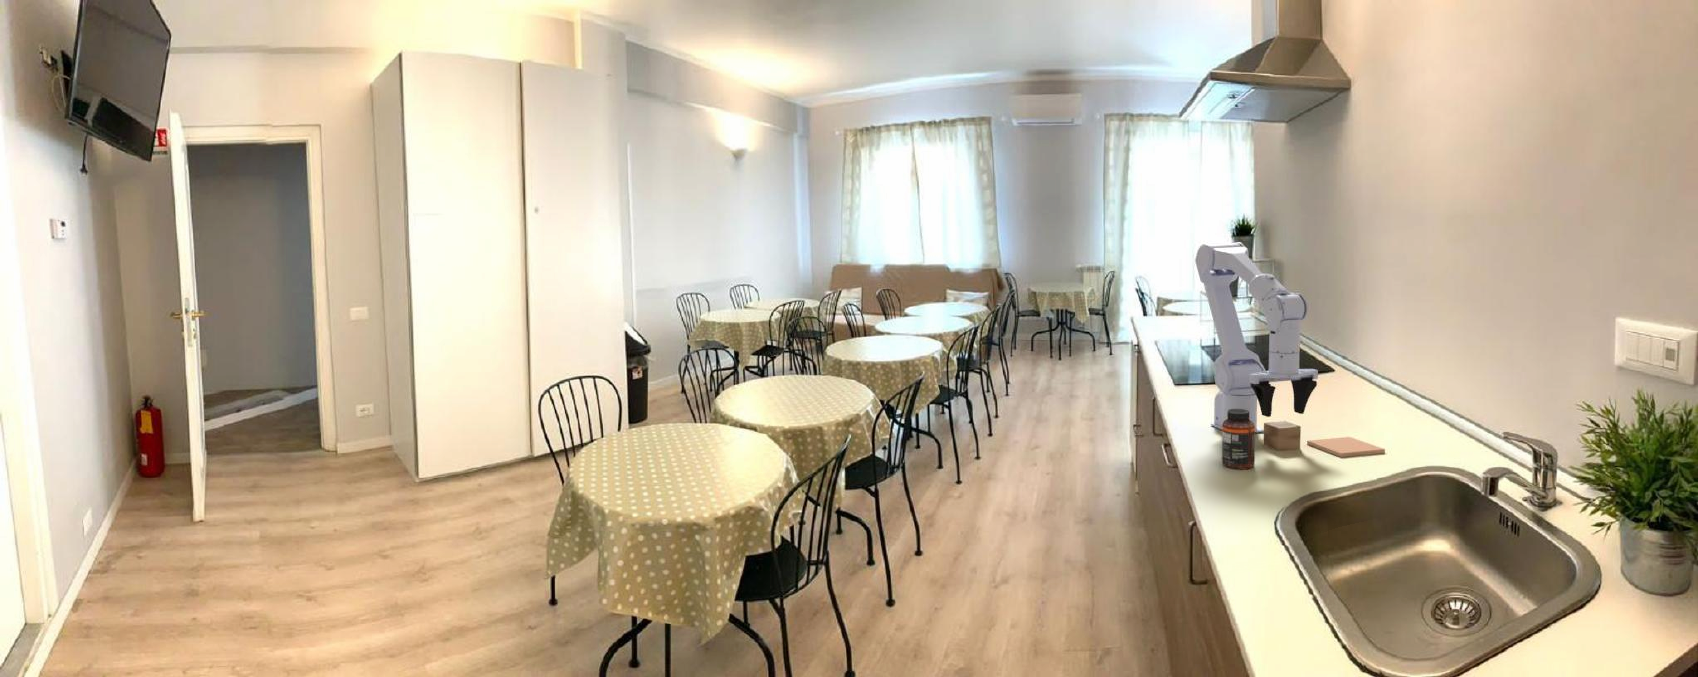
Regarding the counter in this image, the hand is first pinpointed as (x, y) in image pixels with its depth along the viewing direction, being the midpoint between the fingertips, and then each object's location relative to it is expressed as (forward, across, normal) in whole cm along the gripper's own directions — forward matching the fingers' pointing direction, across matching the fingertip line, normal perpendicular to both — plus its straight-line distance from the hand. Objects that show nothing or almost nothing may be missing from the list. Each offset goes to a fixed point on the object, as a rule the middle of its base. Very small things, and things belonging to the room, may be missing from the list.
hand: (1282, 414), depth 177 cm
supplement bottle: (+7, -16, -9) cm, 20 cm away
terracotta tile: (+7, +11, -5) cm, 14 cm away
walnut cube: (+7, 0, 0) cm, 7 cm away
